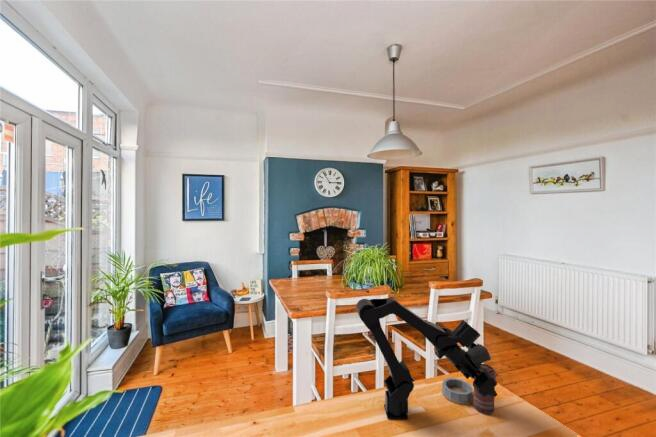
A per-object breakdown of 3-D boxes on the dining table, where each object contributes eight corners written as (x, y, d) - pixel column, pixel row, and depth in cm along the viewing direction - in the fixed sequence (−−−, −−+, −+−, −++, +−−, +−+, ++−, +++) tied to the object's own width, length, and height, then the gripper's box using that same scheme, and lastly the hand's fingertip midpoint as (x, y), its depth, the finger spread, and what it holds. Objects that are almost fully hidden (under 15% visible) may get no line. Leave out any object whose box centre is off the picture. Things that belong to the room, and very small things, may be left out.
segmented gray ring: (448, 404, 101) (448, 394, 101) (437, 386, 111) (438, 377, 111) (478, 404, 101) (478, 394, 101) (464, 386, 111) (464, 377, 111)
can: (497, 416, 96) (498, 373, 95) (476, 413, 97) (477, 371, 96) (491, 404, 102) (492, 364, 101) (471, 401, 103) (472, 362, 102)
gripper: (491, 352, 89) (525, 387, 90) (460, 327, 107) (488, 356, 109) (465, 379, 89) (500, 414, 90) (438, 349, 107) (467, 378, 108)
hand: (488, 387), depth 99 cm, fingers open, 8 cm apart
